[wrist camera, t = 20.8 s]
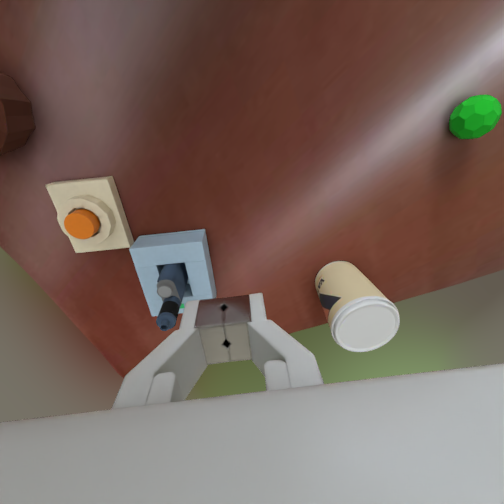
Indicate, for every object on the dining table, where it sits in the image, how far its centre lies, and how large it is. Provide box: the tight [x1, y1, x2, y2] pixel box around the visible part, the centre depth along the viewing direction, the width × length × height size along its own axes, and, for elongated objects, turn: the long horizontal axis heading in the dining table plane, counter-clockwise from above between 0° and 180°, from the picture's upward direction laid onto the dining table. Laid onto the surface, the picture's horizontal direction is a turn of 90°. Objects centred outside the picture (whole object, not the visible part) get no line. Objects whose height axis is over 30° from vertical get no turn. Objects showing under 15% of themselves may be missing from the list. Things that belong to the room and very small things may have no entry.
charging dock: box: [129, 229, 217, 316], centre depth 41 cm, size 12×10×5 cm
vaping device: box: [156, 262, 188, 331], centre depth 36 cm, size 3×5×12 cm, turn 10°
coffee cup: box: [315, 261, 400, 352], centre depth 41 cm, size 9×9×12 cm
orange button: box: [64, 209, 100, 239], centre depth 34 cm, size 4×4×2 cm
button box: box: [45, 176, 134, 253], centre depth 36 cm, size 10×8×4 cm
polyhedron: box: [449, 95, 502, 139], centre depth 33 cm, size 5×5×5 cm
